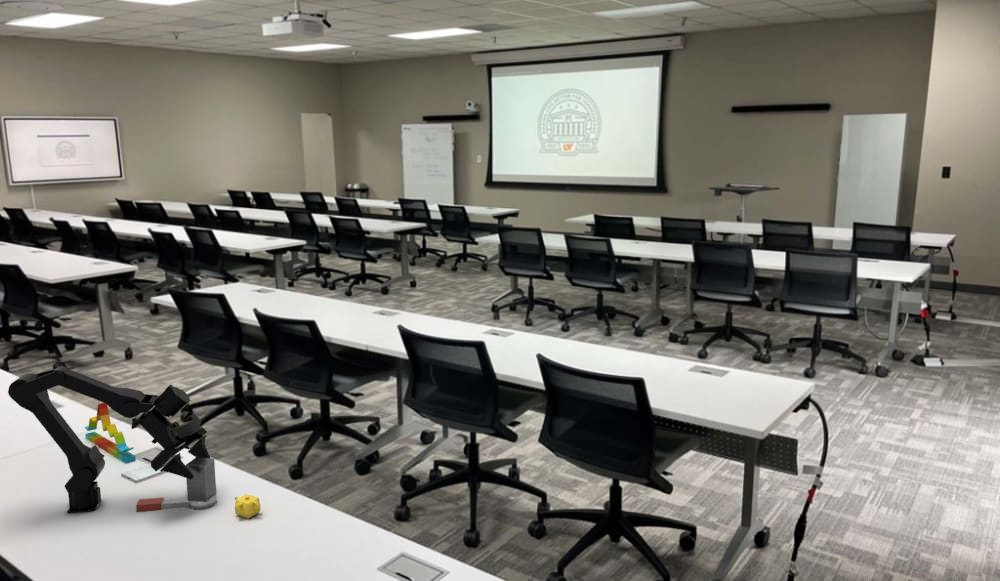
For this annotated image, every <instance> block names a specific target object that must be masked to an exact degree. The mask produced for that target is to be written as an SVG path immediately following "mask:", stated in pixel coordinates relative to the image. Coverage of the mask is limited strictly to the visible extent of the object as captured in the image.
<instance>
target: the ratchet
mask: <svg viewBox="0 0 1000 581" xmlns="http://www.w3.org/2000/svg"><path fill="white" fill-rule="evenodd" d="M217 501H218V500H217V493H216V494H215V495H214V496H213V497H212V498H210V499H209V500H208V501H207V502H198V501H188V496H187V497H177V498H175V497H174V498H164V497H154V498H151V497H150V498H142V499H141V498H140V499H138V501H137V503H136V504H135V510H136V511H135V512H136V513H141V512H142V513H143V512H155V511H156V512H157V511H163V510H164V511H165V510H174V509H186V508H189V509H190V510H193V511H202V510H203V511H204V510H208V509H211V508H213V507H215V505H216V504H218V503H217Z"/></svg>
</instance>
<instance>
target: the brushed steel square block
mask: <svg viewBox="0 0 1000 581" xmlns="http://www.w3.org/2000/svg"><path fill="white" fill-rule="evenodd" d="M185 466H186V467H187V468H188V469H189V470H190V472H191V473H192V474H193V476H194V477H193V478H192V479H188V478H185V479H186V480H185V481H186V493H187V494H186V496H187V497H188V501H198V502H207V501H208V500H209V499H210V498H212V497H213V496H214V495H215V494H216V495H217V485H216V484H217V483H216V481H217V480H216V467H215V466H216V465H215V457H213V458H211V457H210V458H199V457H195V458H193V459H192V460H190V461H189V462H187V463H186V464H185Z"/></svg>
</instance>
